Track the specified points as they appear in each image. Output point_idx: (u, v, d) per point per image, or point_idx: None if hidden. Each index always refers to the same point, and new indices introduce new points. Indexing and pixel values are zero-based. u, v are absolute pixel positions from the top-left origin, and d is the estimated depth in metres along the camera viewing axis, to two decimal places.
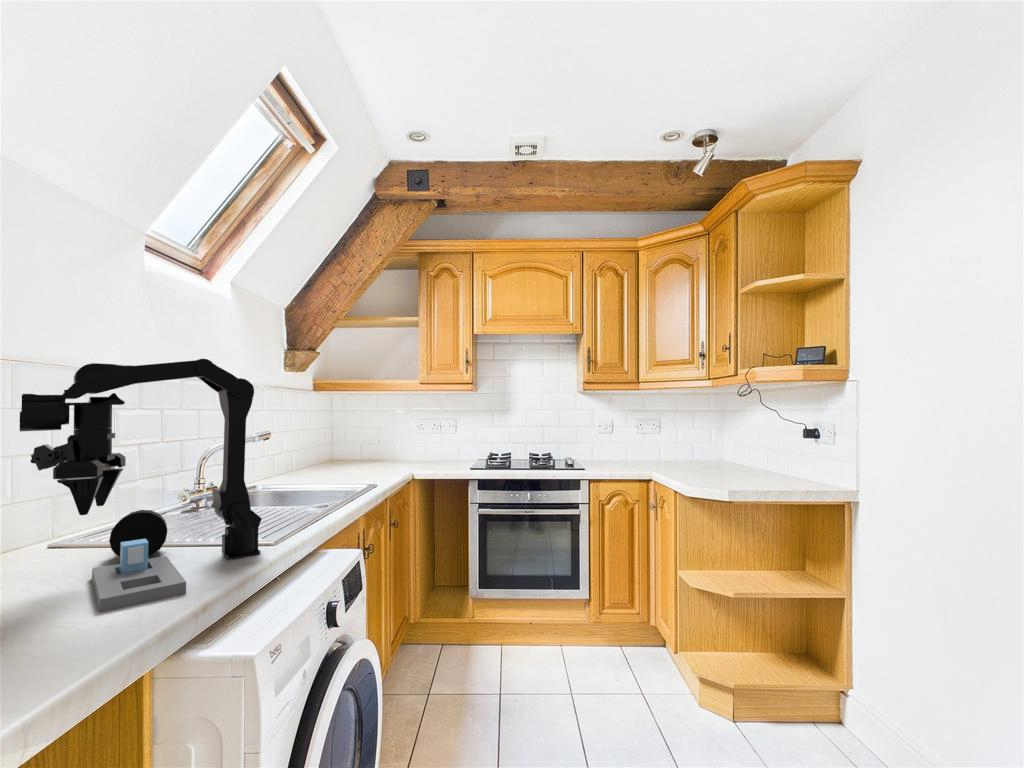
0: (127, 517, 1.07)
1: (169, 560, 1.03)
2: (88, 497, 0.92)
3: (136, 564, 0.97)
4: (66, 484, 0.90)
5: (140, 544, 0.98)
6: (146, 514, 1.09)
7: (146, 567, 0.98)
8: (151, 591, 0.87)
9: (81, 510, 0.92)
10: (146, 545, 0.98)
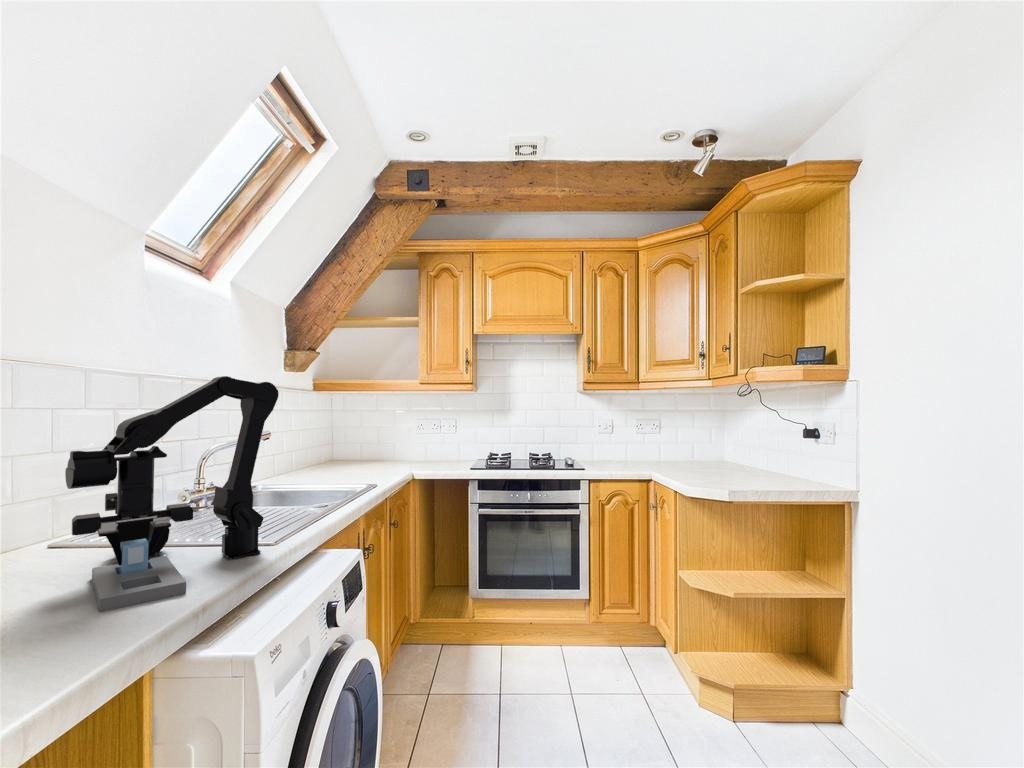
0: None
1: (169, 560, 1.03)
2: (113, 549, 0.96)
3: (136, 564, 0.97)
4: None
5: (140, 544, 0.98)
6: None
7: (146, 567, 0.98)
8: (151, 591, 0.87)
9: (117, 560, 0.97)
10: (146, 545, 0.98)
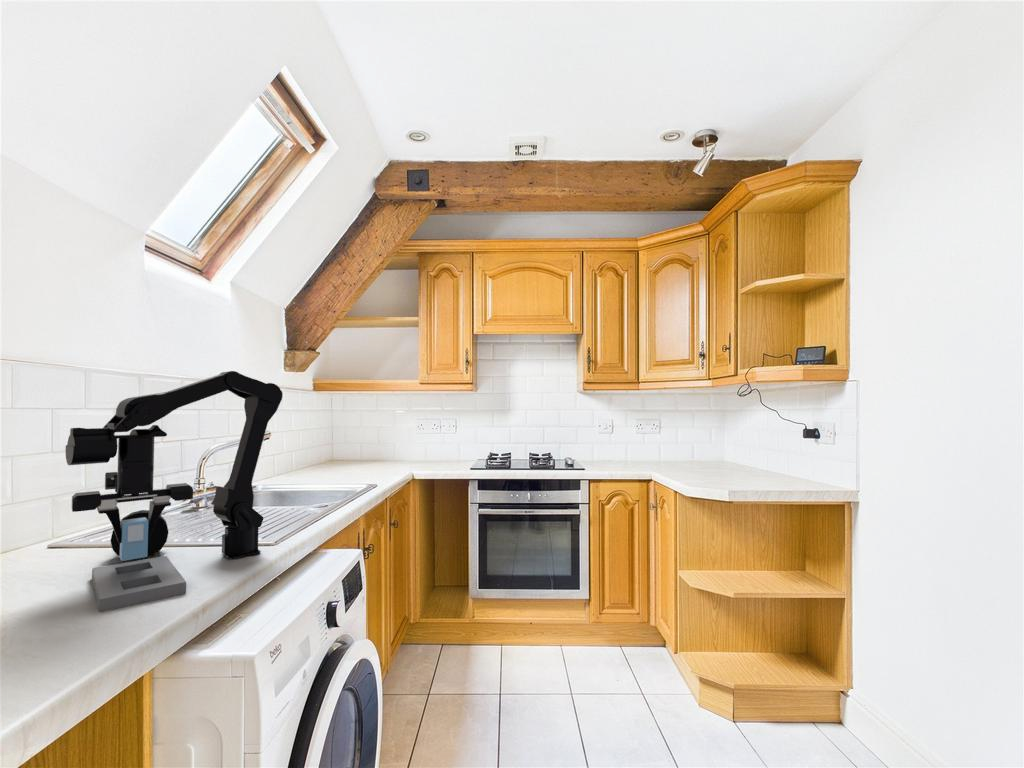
0: (128, 517, 1.07)
1: (169, 560, 1.03)
2: (113, 527, 0.96)
3: (136, 542, 0.97)
4: None
5: (140, 522, 0.98)
6: (147, 514, 1.09)
7: (146, 545, 0.98)
8: (151, 591, 0.87)
9: None
10: (146, 523, 0.98)
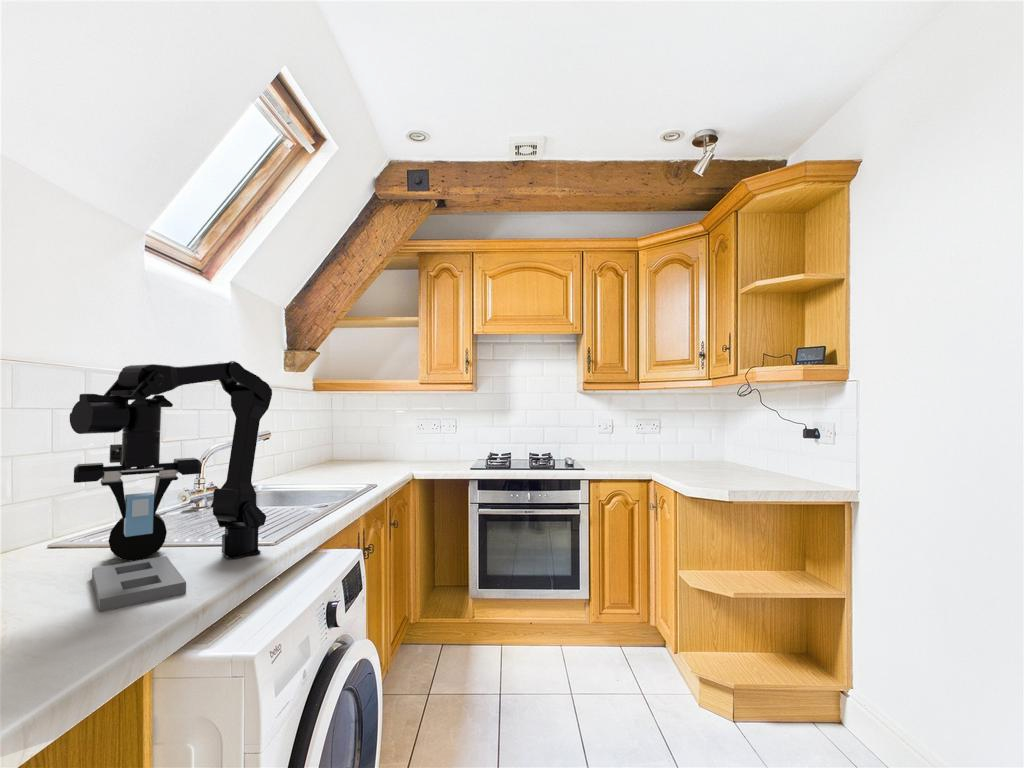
0: None
1: (169, 560, 1.03)
2: None
3: (141, 517, 0.92)
4: None
5: (145, 496, 0.92)
6: None
7: (151, 521, 0.93)
8: (151, 591, 0.87)
9: None
10: (151, 498, 0.93)
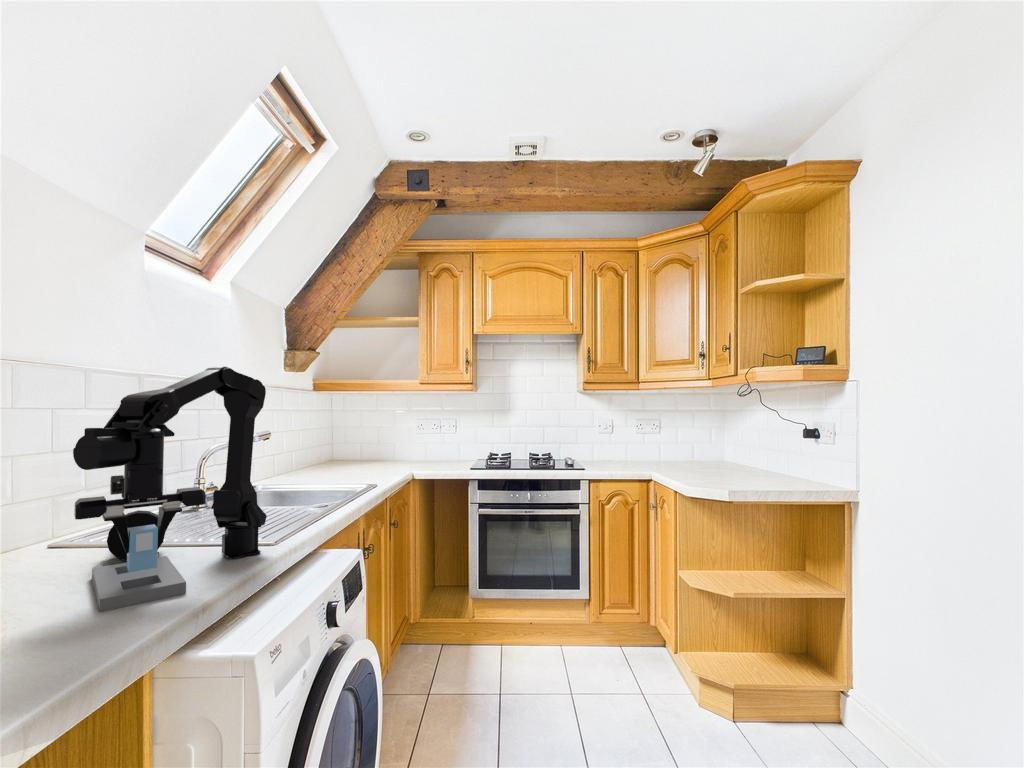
0: None
1: (169, 560, 1.03)
2: (119, 535, 0.88)
3: (145, 551, 0.89)
4: None
5: (149, 530, 0.90)
6: (144, 515, 1.09)
7: (155, 555, 0.90)
8: (151, 591, 0.87)
9: None
10: (155, 531, 0.90)
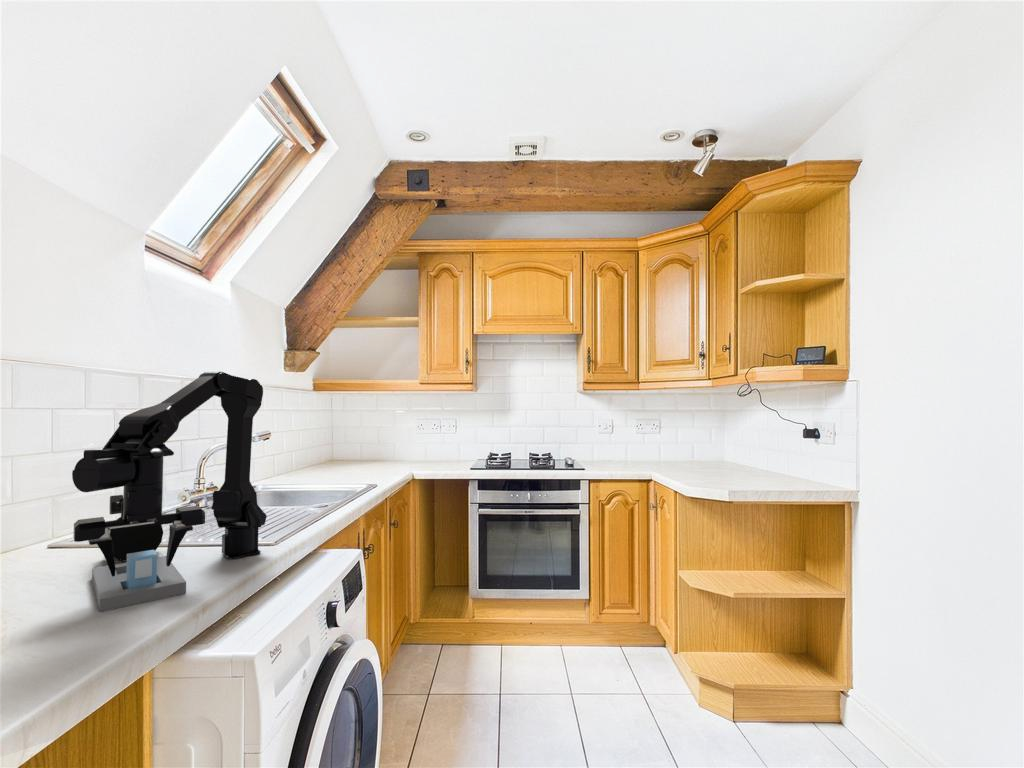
0: None
1: None
2: (105, 558, 0.86)
3: (144, 578, 0.89)
4: None
5: (148, 556, 0.90)
6: None
7: (155, 581, 0.90)
8: (151, 591, 0.87)
9: None
10: (155, 557, 0.90)
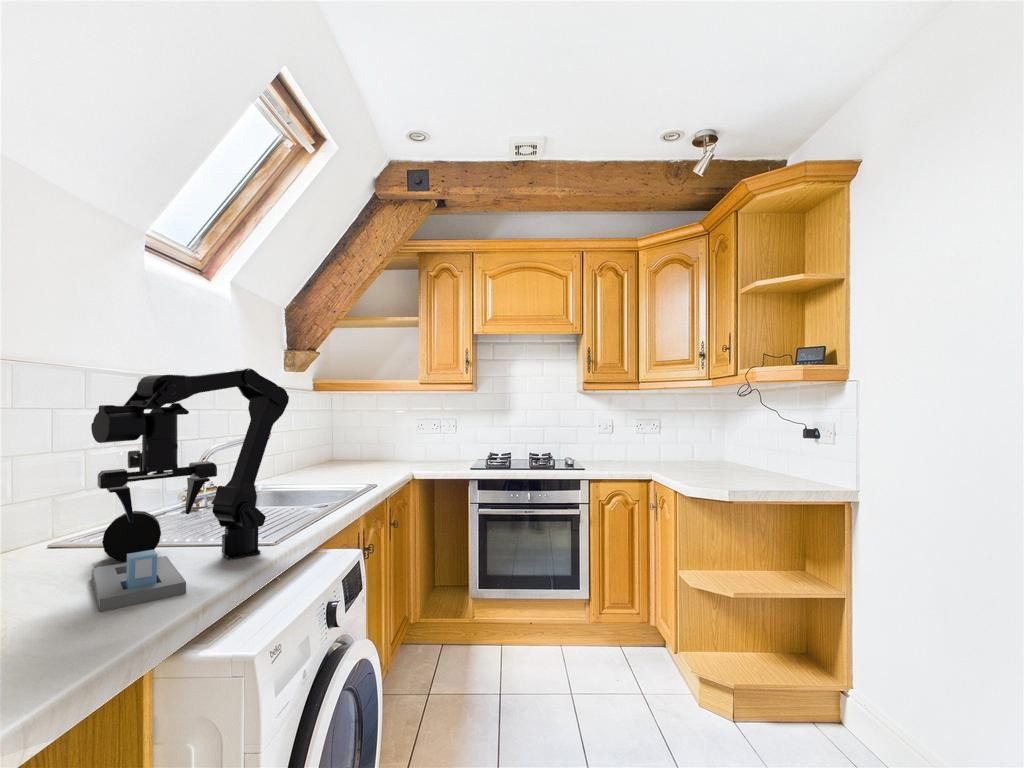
0: (120, 518, 1.07)
1: (169, 560, 1.03)
2: (123, 506, 0.94)
3: (144, 578, 0.89)
4: None
5: (148, 556, 0.90)
6: (139, 515, 1.08)
7: (155, 581, 0.90)
8: (151, 591, 0.87)
9: None
10: (155, 557, 0.90)
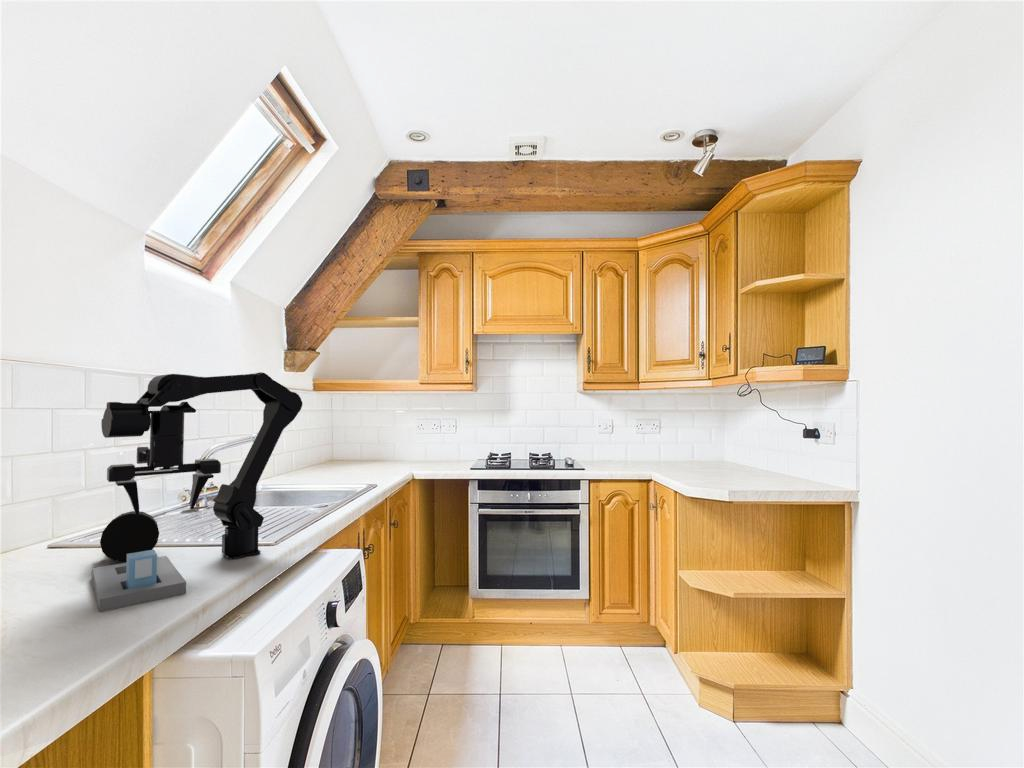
0: (118, 518, 1.06)
1: (169, 560, 1.03)
2: (130, 499, 0.98)
3: (144, 578, 0.89)
4: None
5: (148, 556, 0.90)
6: None
7: (155, 581, 0.90)
8: (151, 591, 0.87)
9: (134, 510, 0.99)
10: (154, 557, 0.90)
